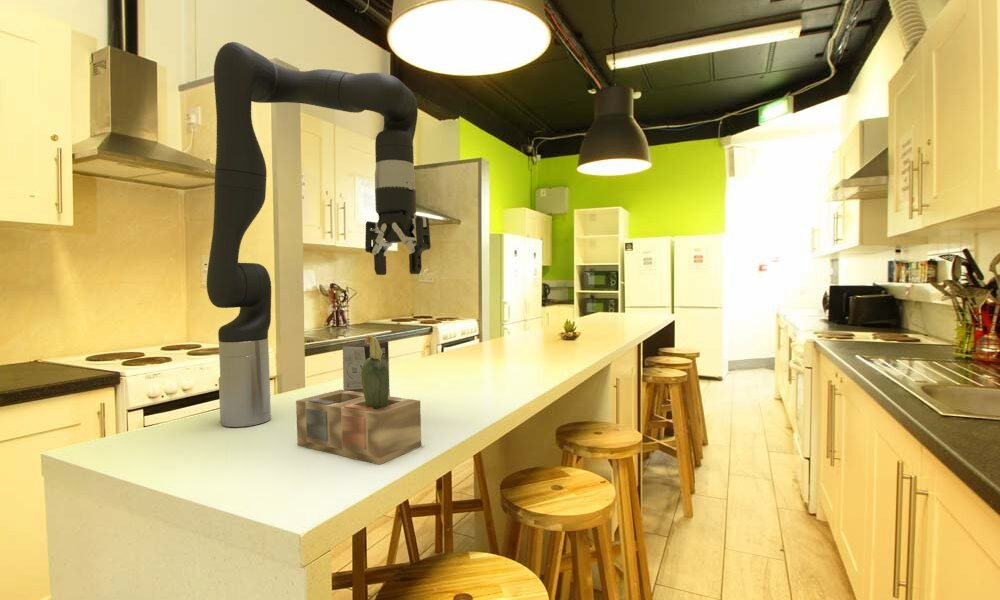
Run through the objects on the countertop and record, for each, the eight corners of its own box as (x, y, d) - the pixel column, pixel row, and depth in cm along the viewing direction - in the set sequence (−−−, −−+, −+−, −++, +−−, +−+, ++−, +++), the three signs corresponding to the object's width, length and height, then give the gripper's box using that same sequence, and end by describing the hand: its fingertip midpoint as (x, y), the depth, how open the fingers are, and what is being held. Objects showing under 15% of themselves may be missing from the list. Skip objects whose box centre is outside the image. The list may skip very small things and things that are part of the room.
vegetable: (390, 438, 88) (395, 334, 82) (378, 453, 84) (382, 344, 78) (367, 432, 89) (371, 328, 83) (354, 446, 85) (356, 338, 79)
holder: (296, 445, 89) (294, 399, 89) (341, 430, 98) (340, 388, 98) (378, 465, 79) (377, 412, 79) (421, 446, 88) (420, 398, 87)
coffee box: (372, 426, 100) (370, 346, 100) (343, 425, 102) (340, 345, 101) (391, 414, 109) (389, 340, 109) (364, 413, 111) (362, 340, 110)
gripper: (353, 189, 95) (356, 275, 96) (411, 180, 88) (413, 273, 89) (381, 195, 102) (384, 275, 102) (437, 187, 94) (439, 273, 95)
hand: (397, 274), depth 96 cm, fingers open, 8 cm apart
